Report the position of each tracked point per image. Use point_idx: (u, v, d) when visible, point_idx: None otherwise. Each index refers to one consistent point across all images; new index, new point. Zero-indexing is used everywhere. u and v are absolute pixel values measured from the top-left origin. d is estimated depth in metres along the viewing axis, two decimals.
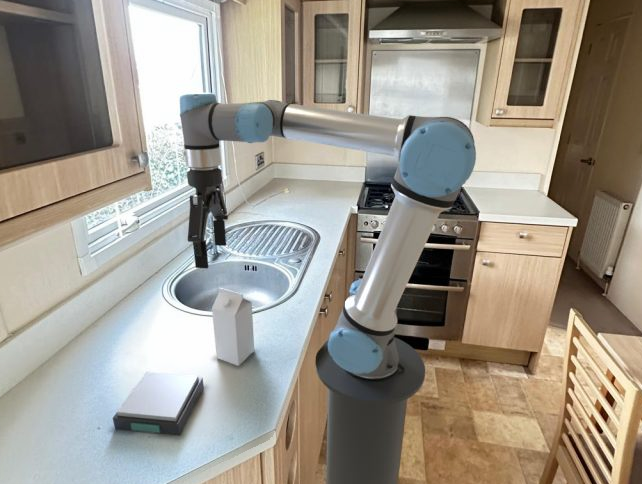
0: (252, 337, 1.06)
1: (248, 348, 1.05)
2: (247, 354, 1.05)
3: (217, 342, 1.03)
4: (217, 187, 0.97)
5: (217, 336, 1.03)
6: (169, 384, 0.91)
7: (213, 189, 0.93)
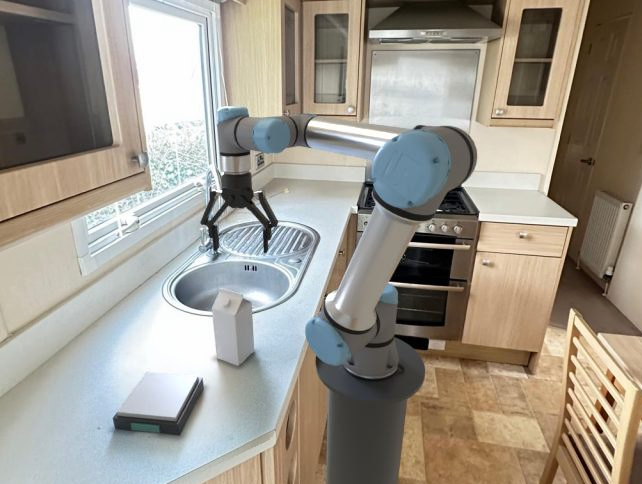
0: (252, 337, 1.06)
1: (247, 348, 1.05)
2: (247, 354, 1.05)
3: (217, 342, 1.03)
4: None
5: (217, 336, 1.03)
6: (169, 384, 0.91)
7: (243, 194, 1.02)
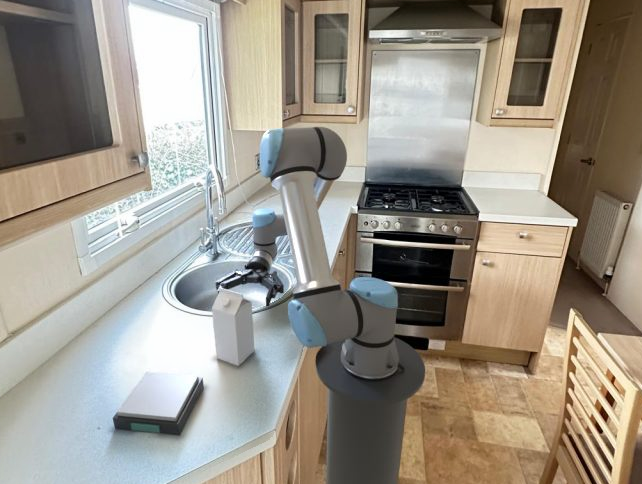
0: (252, 337, 1.06)
1: (248, 348, 1.05)
2: (247, 354, 1.05)
3: (217, 342, 1.03)
4: None
5: (217, 336, 1.03)
6: (169, 384, 0.91)
7: None
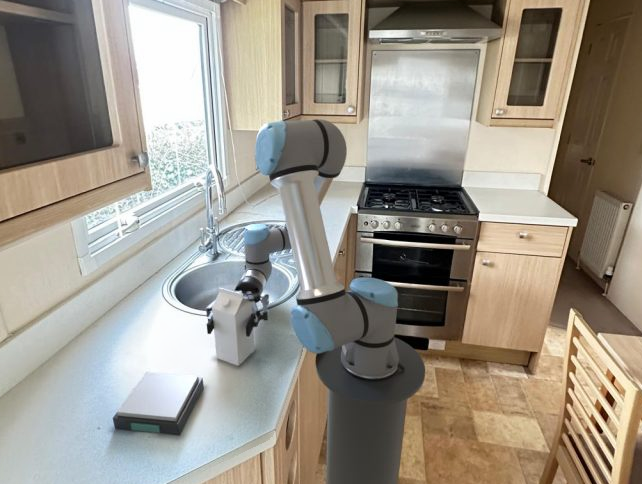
0: (252, 337, 1.06)
1: (247, 348, 1.05)
2: (247, 354, 1.05)
3: (217, 342, 1.03)
4: None
5: (217, 336, 1.03)
6: (169, 384, 0.91)
7: (251, 293, 1.14)
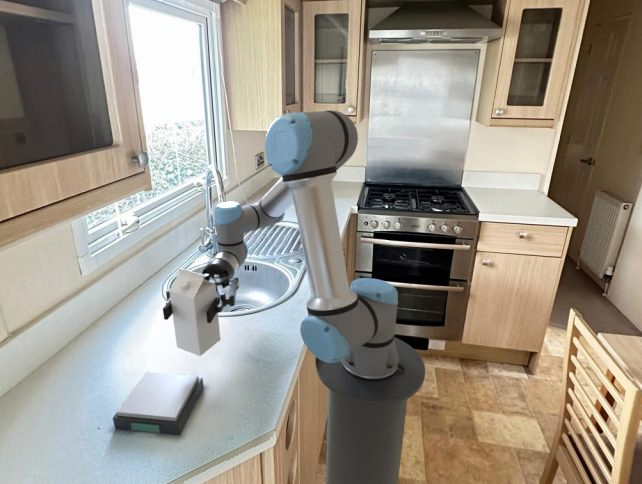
0: (217, 324, 0.95)
1: (211, 336, 0.94)
2: (211, 343, 0.94)
3: (177, 329, 0.92)
4: None
5: (176, 322, 0.91)
6: (169, 384, 0.91)
7: (220, 276, 1.03)
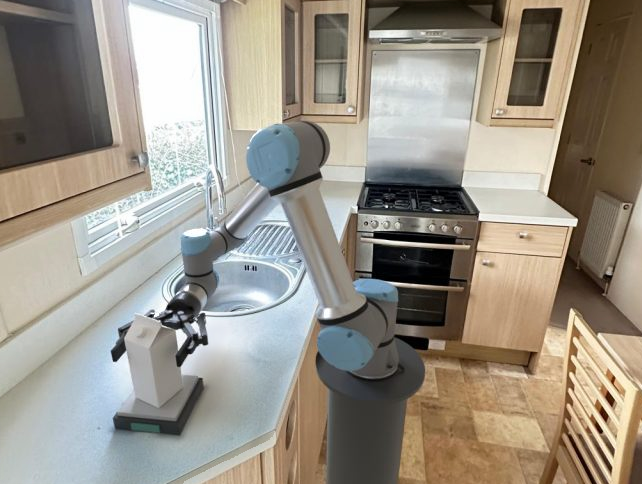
0: (179, 372, 0.88)
1: (172, 385, 0.86)
2: (172, 393, 0.87)
3: (134, 379, 0.85)
4: None
5: (133, 372, 0.84)
6: None
7: (184, 313, 0.95)
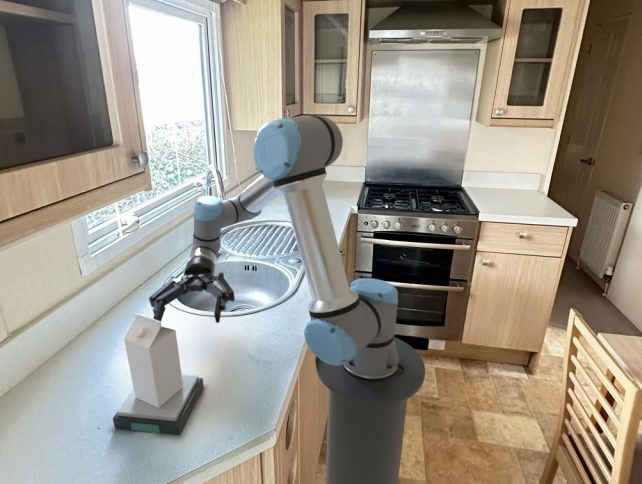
0: (179, 372, 0.88)
1: (172, 385, 0.86)
2: (172, 392, 0.87)
3: (134, 379, 0.85)
4: None
5: (133, 372, 0.84)
6: None
7: (204, 275, 1.05)
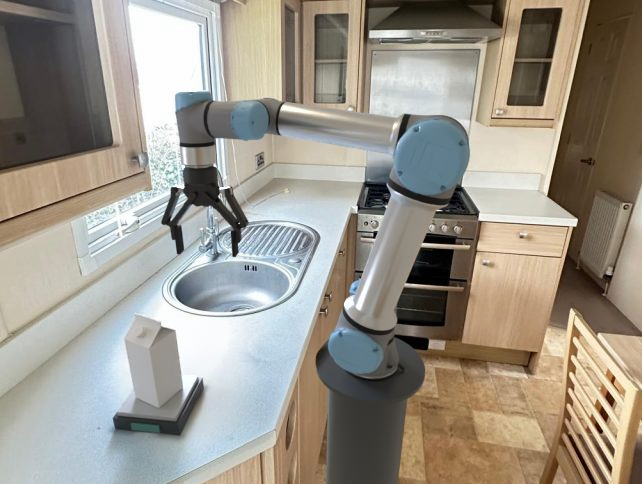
0: (179, 372, 0.88)
1: (172, 385, 0.86)
2: (172, 392, 0.87)
3: (134, 379, 0.85)
4: None
5: (133, 372, 0.84)
6: None
7: (208, 190, 0.90)
